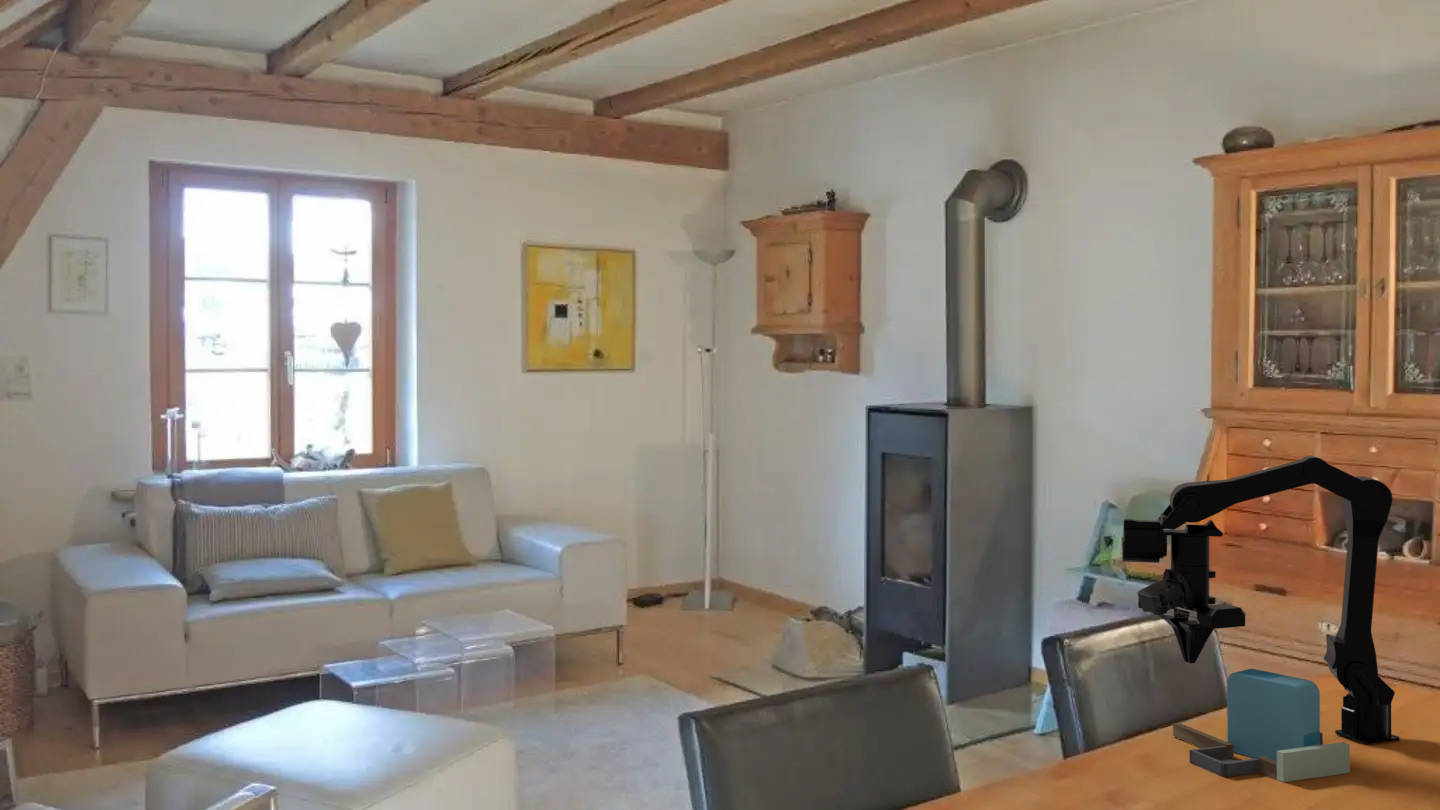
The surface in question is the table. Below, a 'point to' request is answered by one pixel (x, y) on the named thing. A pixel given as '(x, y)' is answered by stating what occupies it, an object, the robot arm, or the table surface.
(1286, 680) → the blue rounded slab
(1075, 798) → the table surface
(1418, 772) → the table surface
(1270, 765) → the lane rails
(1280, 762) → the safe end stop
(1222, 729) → the table surface
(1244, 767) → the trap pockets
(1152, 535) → the robot arm
